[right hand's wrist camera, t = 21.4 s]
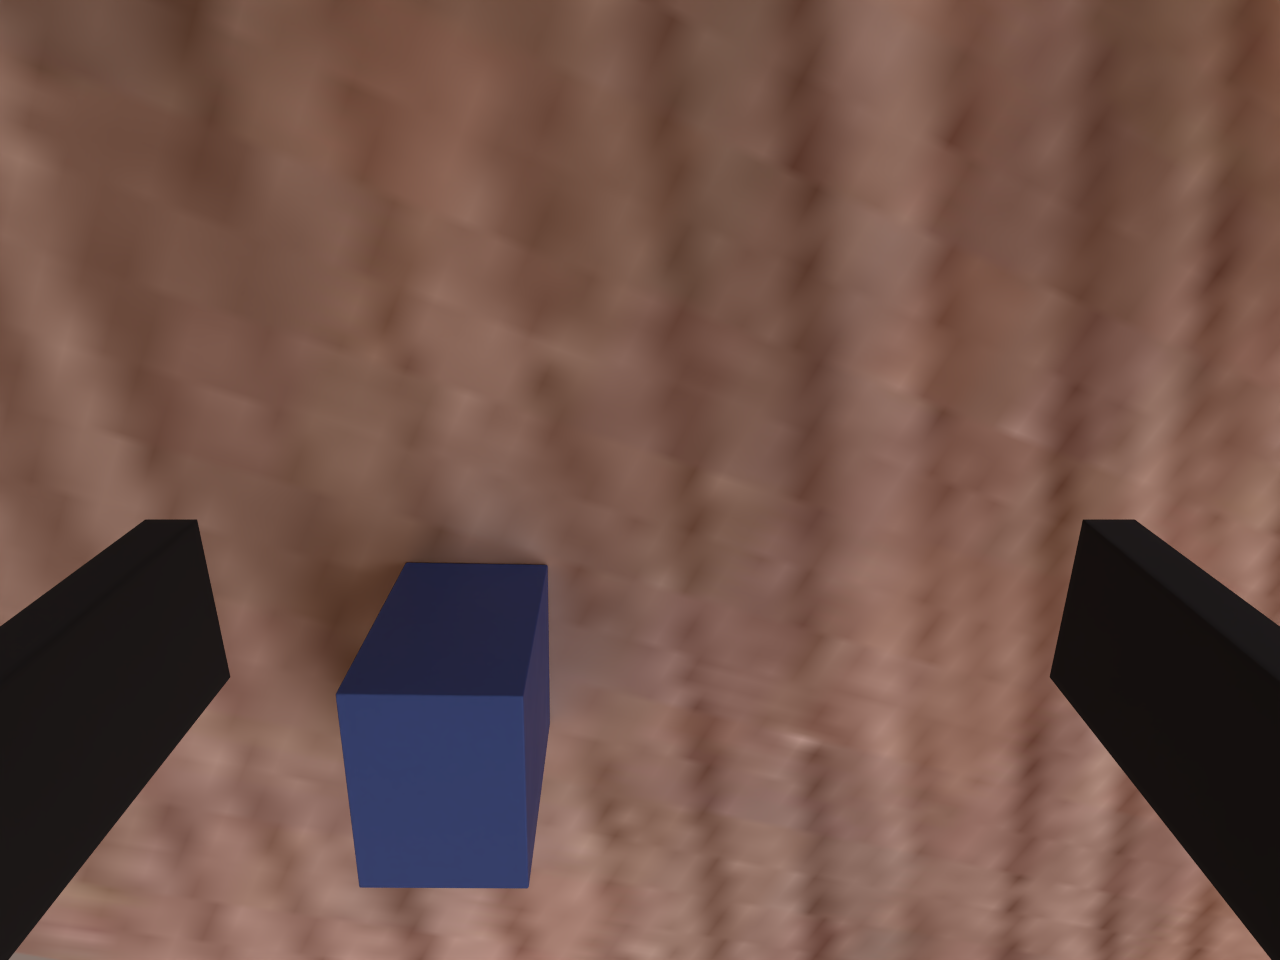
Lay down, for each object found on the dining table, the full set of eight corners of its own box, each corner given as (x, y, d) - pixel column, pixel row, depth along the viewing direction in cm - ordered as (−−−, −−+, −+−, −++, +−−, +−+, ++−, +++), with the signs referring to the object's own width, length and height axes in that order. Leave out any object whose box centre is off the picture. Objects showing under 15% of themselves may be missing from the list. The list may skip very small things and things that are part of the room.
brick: (405, 562, 39) (334, 694, 30) (547, 564, 39) (523, 696, 30) (418, 722, 42) (358, 888, 33) (549, 723, 43) (528, 889, 33)
